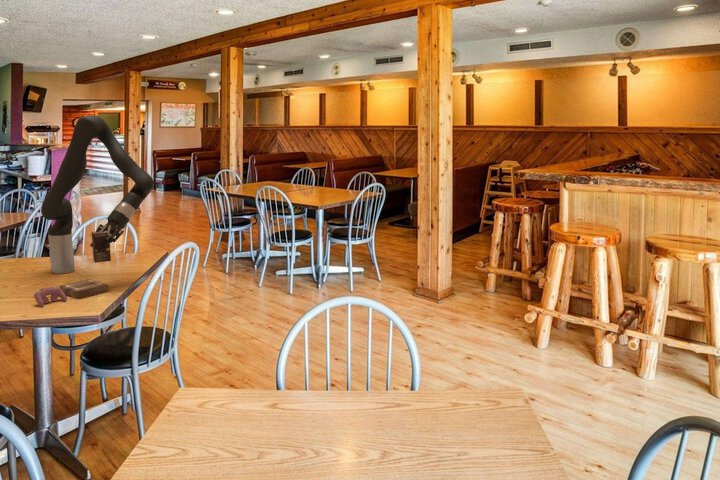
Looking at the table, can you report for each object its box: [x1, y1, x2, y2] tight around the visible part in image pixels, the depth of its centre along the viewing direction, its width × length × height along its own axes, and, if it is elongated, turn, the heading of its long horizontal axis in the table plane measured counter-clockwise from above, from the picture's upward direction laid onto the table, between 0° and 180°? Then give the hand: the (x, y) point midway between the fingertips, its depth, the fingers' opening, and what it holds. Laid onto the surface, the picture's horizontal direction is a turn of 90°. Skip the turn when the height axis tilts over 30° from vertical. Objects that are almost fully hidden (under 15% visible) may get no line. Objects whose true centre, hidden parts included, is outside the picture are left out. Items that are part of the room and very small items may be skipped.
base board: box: [59, 278, 109, 300], centre depth 211 cm, size 13×12×3 cm
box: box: [91, 231, 112, 264], centre depth 215 cm, size 6×4×12 cm
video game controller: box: [33, 286, 68, 308], centre depth 198 cm, size 10×5×7 cm, turn 146°
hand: (96, 247), depth 214 cm, fingers closed on box, 5 cm apart
